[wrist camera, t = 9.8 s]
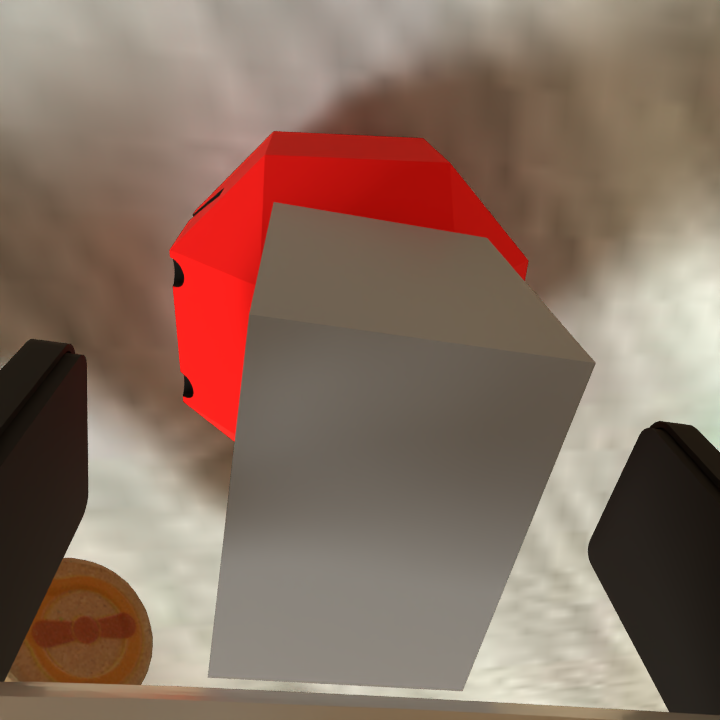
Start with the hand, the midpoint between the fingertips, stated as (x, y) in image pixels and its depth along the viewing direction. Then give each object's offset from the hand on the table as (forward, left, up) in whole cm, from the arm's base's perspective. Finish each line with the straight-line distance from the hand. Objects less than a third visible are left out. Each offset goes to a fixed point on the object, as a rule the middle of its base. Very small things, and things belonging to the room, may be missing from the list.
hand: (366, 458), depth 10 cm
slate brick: (0, 0, -3) cm, 3 cm away
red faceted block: (0, 0, -11) cm, 11 cm away
